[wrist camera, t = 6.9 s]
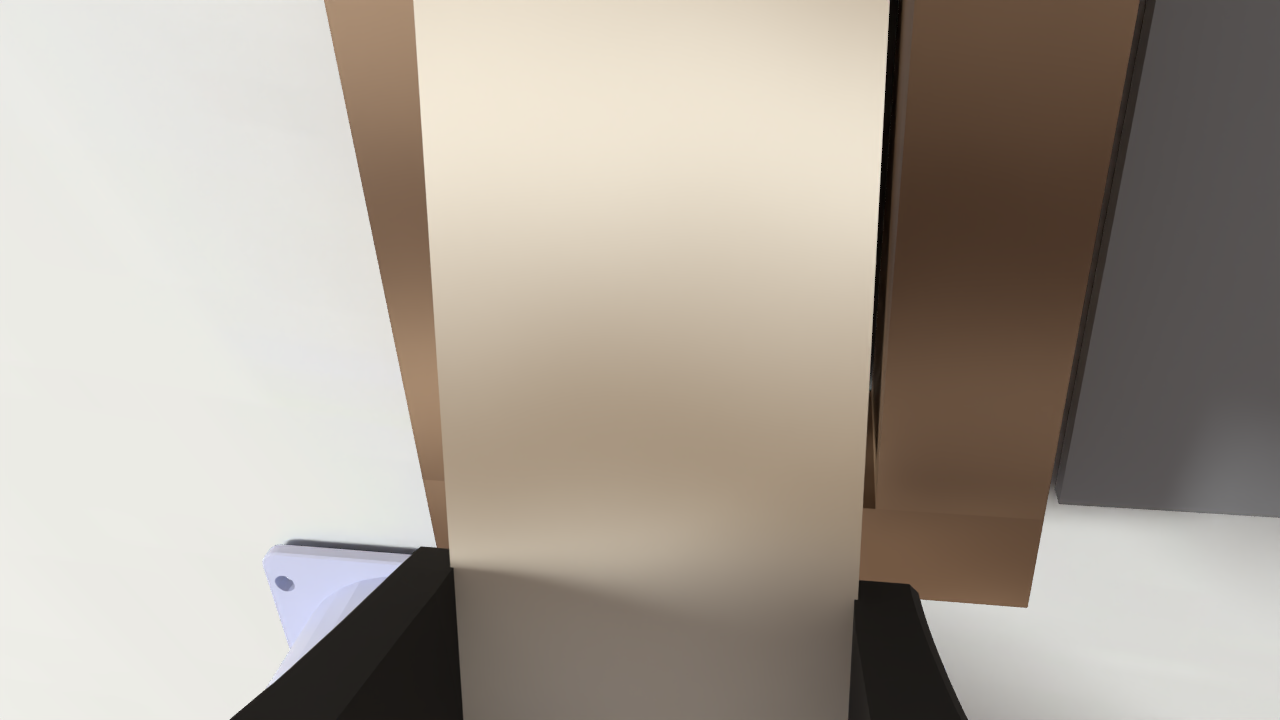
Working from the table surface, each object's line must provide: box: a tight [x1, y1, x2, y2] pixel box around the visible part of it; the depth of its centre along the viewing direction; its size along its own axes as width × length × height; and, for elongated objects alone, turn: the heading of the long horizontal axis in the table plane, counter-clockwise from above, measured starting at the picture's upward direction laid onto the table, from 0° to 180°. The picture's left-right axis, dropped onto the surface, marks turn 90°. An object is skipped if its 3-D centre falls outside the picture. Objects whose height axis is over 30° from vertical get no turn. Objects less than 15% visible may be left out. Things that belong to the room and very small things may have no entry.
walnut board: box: [324, 0, 1140, 608], centre depth 17 cm, size 15×11×4 cm
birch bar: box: [413, 0, 890, 720], centre depth 11 cm, size 9×4×2 cm, turn 3°
